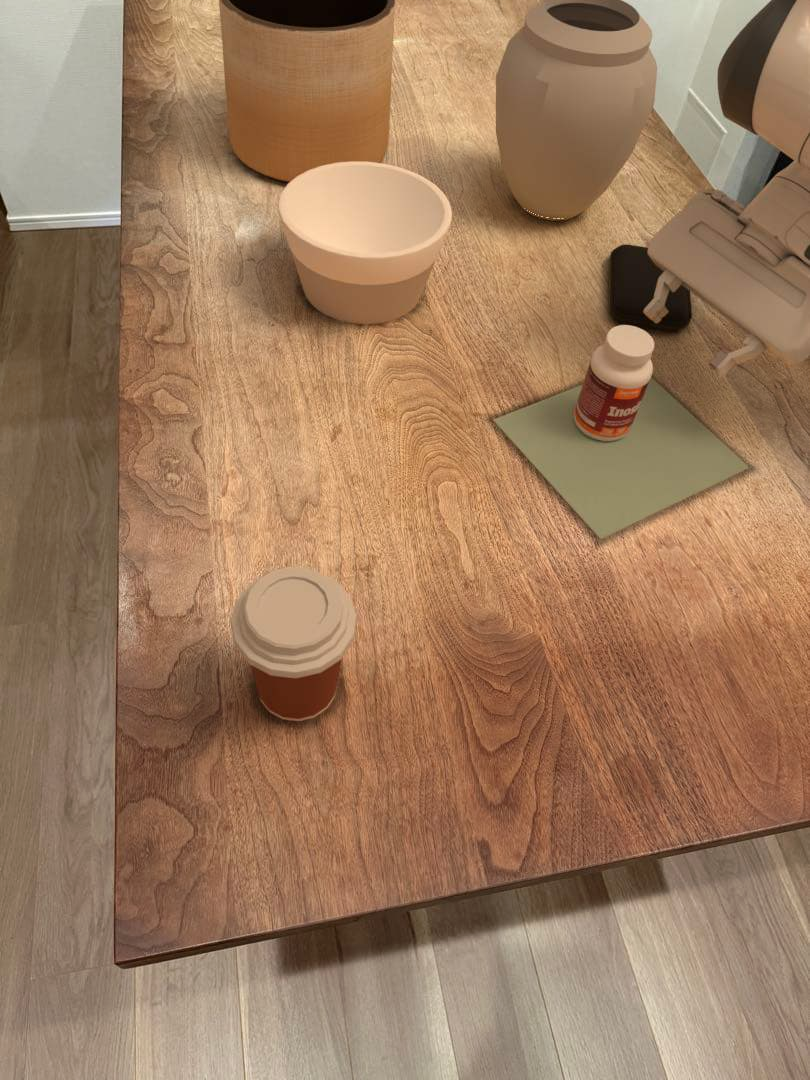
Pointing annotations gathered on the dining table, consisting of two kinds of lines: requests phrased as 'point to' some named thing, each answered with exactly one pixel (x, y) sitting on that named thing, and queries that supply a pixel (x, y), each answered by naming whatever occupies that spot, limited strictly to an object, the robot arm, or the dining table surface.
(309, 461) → the dining table surface
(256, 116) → the planter
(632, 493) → the mat
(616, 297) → the carrying case
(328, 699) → the coffee cup
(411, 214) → the bowl
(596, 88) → the vase
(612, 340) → the pill bottle
